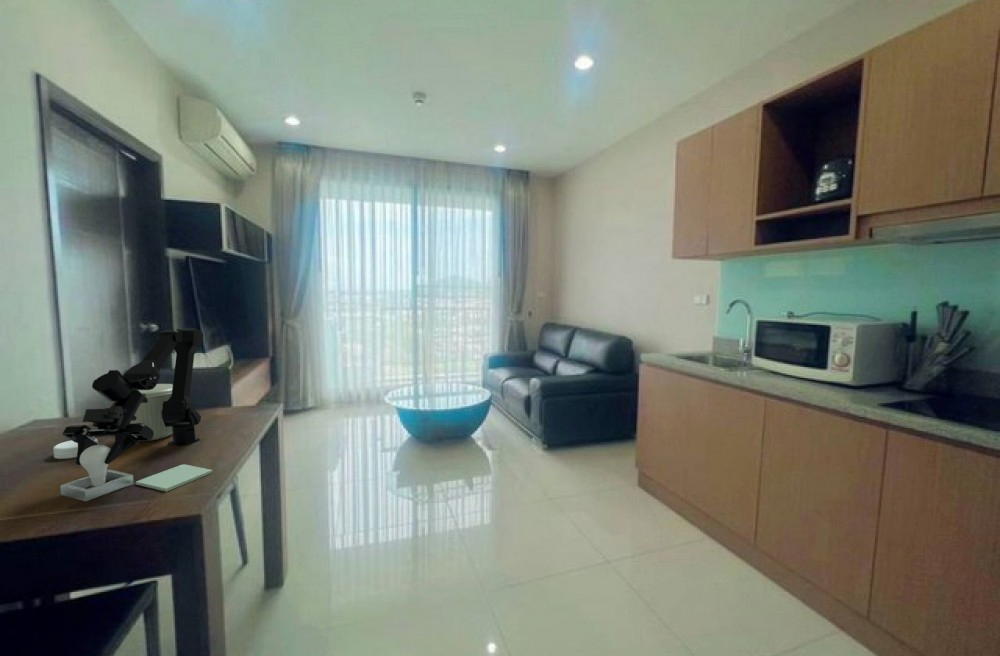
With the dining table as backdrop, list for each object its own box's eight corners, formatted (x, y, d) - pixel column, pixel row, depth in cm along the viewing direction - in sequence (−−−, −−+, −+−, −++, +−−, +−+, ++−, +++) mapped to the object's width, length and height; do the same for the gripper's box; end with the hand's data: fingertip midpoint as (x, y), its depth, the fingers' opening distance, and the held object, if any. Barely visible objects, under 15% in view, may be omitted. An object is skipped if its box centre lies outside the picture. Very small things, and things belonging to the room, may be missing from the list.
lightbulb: (75, 493, 102) (72, 451, 101) (92, 482, 108) (89, 442, 107) (105, 490, 104) (102, 448, 103) (120, 479, 110) (117, 440, 109)
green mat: (135, 484, 109) (135, 481, 108) (183, 466, 120) (183, 464, 120) (166, 491, 105) (166, 488, 105) (212, 472, 116) (212, 470, 116)
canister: (174, 442, 140) (171, 381, 138) (107, 449, 133) (102, 385, 132) (192, 426, 157) (189, 372, 155) (132, 431, 150) (129, 375, 148)
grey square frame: (61, 494, 103) (60, 485, 102) (109, 478, 112) (109, 469, 112) (85, 501, 99) (84, 491, 99) (133, 483, 109) (132, 474, 109)
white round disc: (55, 453, 130) (54, 442, 130) (98, 445, 137) (98, 435, 137) (52, 462, 123) (51, 451, 123) (98, 453, 130) (97, 443, 130)
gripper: (65, 395, 107) (25, 452, 97) (143, 394, 109) (112, 449, 99) (93, 415, 115) (60, 470, 105) (165, 414, 117) (139, 467, 107)
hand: (92, 464), depth 104 cm, fingers closed on lightbulb, 6 cm apart
